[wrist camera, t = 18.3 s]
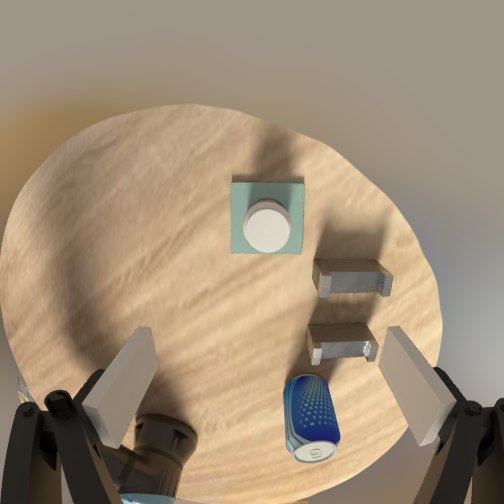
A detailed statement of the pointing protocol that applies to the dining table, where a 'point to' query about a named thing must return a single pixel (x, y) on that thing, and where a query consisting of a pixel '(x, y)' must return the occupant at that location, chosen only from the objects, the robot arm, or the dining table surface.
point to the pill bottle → (267, 225)
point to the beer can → (310, 420)
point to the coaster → (253, 191)
